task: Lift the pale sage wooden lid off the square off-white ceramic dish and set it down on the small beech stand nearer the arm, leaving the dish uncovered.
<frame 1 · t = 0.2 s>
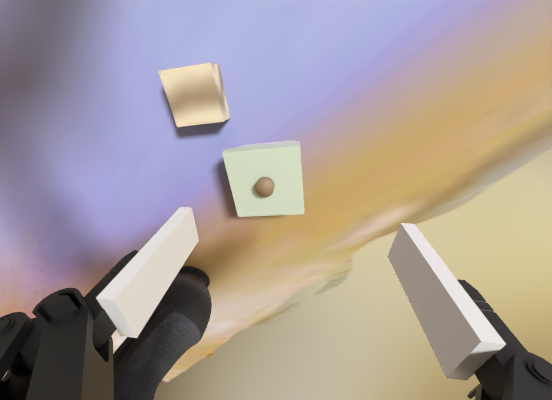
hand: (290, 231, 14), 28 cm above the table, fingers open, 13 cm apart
stand: (202, 95, 36), on the table
pitcher: (193, 272, 59), on the table
lid: (267, 178, 37), point 5 cm above the table, touching dish
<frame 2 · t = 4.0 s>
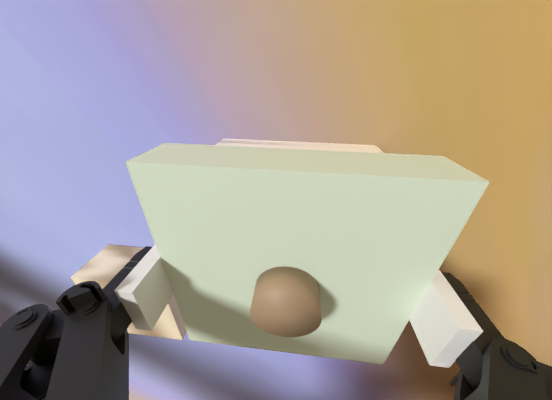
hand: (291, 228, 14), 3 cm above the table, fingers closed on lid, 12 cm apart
stand: (157, 275, 23), on the table
dish: (292, 205, 16), on the table
lid: (289, 251, 12), point 5 cm above the table, touching dish, gripper
when the fingers open (2 cm above the table, at t = 10.6 s): lid stays where it is, resting on stand.
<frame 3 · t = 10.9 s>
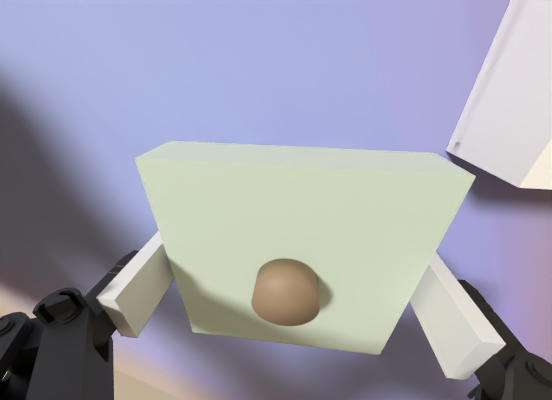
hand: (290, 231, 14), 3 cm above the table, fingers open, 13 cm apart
lid: (289, 245, 13), point 4 cm above the table, touching stand
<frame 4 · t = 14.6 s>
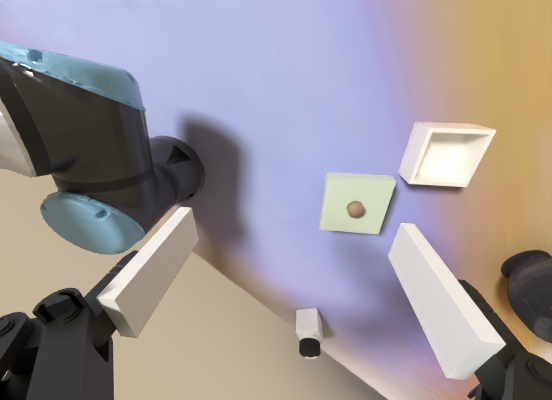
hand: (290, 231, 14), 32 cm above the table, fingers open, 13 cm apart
medicine bottle: (308, 314, 71), on the table
pitcher: (516, 261, 51), on the table
dish: (433, 150, 40), on the table
lid: (352, 201, 43), point 4 cm above the table, touching stand
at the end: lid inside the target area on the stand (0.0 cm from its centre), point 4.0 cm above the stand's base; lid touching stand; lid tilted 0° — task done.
